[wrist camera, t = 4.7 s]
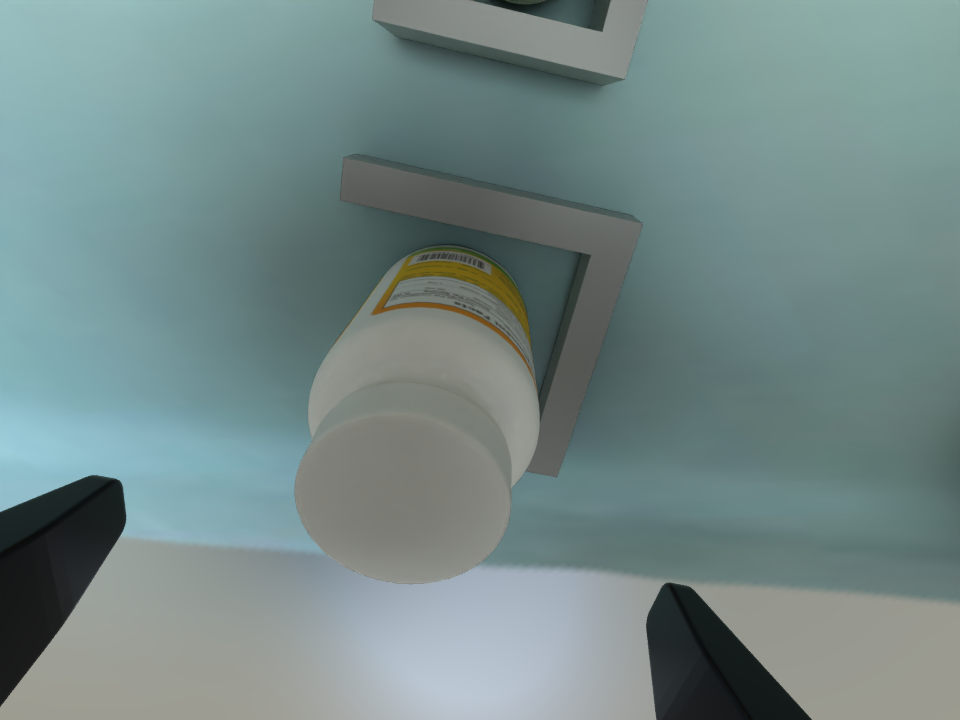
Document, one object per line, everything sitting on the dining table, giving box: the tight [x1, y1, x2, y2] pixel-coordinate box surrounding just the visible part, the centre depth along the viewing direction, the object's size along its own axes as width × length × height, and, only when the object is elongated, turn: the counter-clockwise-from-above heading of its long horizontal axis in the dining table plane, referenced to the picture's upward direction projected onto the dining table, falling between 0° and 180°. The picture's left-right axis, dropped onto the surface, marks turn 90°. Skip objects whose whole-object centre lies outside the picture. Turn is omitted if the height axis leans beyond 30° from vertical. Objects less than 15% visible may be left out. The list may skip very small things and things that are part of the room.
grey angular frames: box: [340, 0, 648, 477], centre depth 15 cm, size 9×19×4 cm, turn 168°
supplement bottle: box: [295, 245, 540, 584], centre depth 14 cm, size 5×5×10 cm
